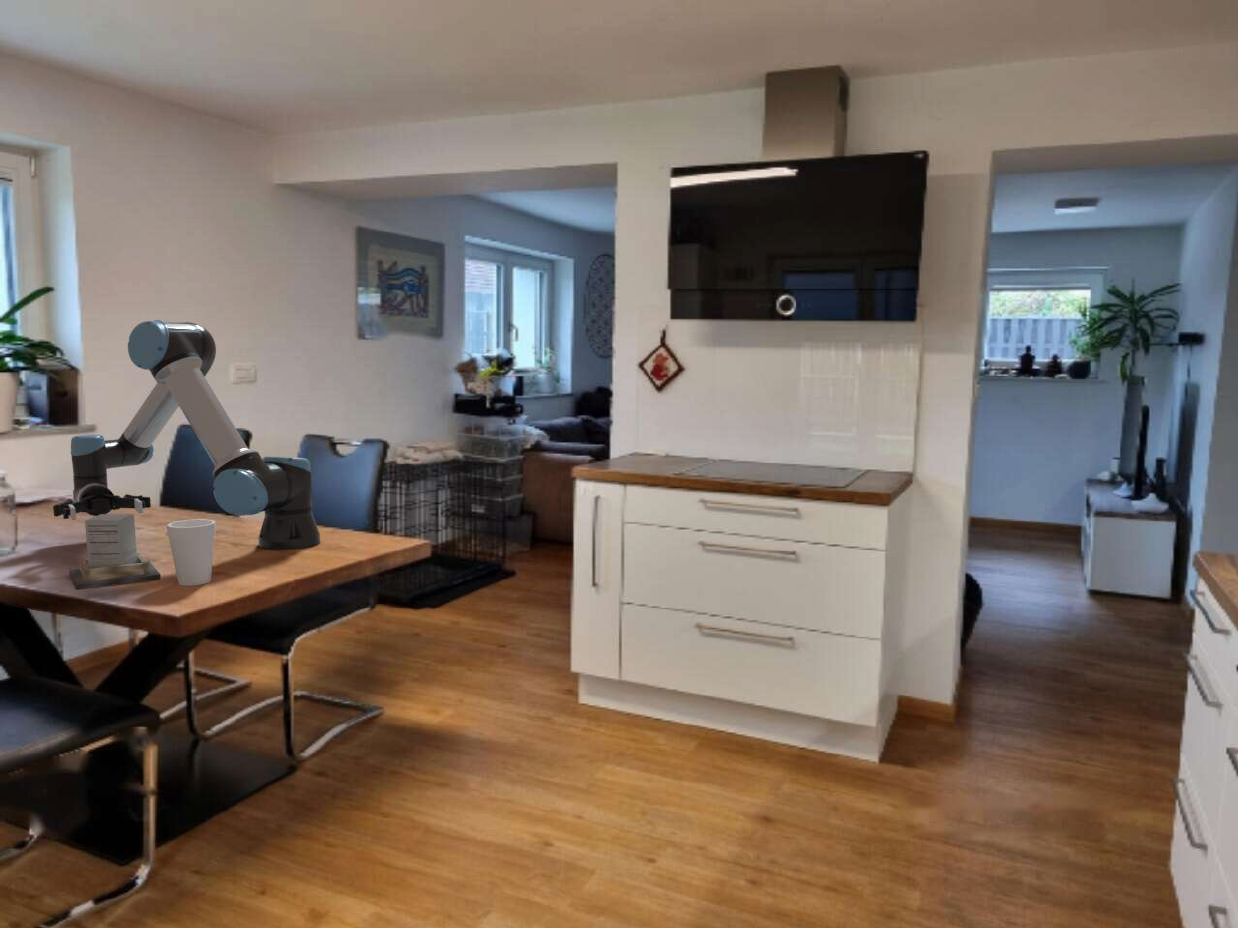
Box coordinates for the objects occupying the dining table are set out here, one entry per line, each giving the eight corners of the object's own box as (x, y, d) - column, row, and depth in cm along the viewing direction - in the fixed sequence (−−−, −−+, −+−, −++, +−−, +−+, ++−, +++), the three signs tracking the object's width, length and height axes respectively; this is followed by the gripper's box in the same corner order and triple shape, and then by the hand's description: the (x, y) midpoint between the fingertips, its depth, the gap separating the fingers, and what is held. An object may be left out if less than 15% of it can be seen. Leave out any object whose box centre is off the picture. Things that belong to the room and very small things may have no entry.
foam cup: (225, 576, 194) (222, 519, 192) (207, 587, 185) (204, 527, 183) (182, 576, 193) (179, 519, 192) (162, 587, 184) (158, 527, 183)
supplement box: (104, 568, 196) (101, 513, 194) (138, 568, 197) (135, 513, 195) (87, 576, 189) (83, 519, 187) (123, 576, 189) (119, 519, 188)
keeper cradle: (149, 564, 204) (148, 550, 203) (160, 578, 191) (159, 563, 191) (69, 574, 194) (68, 559, 194) (75, 590, 182) (74, 573, 181)
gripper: (152, 508, 227) (168, 520, 210) (38, 519, 212) (45, 533, 195) (150, 480, 226) (166, 489, 209) (35, 489, 211) (42, 500, 194)
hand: (107, 510), depth 202 cm, fingers open, 13 cm apart
